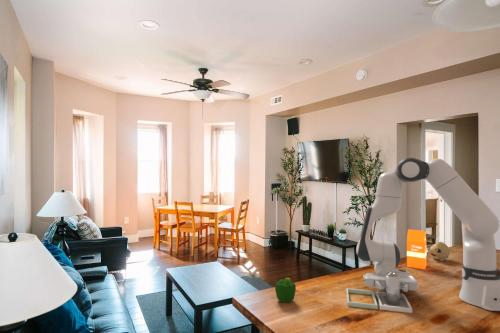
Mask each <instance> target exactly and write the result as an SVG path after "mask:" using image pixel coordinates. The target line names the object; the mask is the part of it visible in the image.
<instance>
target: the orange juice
mask: <svg viewBox="0 0 500 333" xmlns="http://www.w3.org/2000/svg"><path fill="white" fill-rule="evenodd" d="M427 252H428V251H427V236H426V231H425V230H419V229H418V230H417V229H409V228H408V229H407V235H406V267H407V268H408V267H409V268H415V269H420V270H426V267H427Z"/></svg>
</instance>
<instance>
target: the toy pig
mask: <svg viewBox="0 0 500 333" xmlns="http://www.w3.org/2000/svg"><path fill="white" fill-rule="evenodd" d="M426 250H427V252H428V253H429V254H430V256H431V257H432V259H433V260H434V259H435V260H439V261H441V262H443V261H444V260H446V259H448V258H449V256H450V252H451V250H450V248H449V246H448V245H447V244H446V243H445V242H443V241H438V242H436V243H434V244H433V245H431V246H427V247H426Z"/></svg>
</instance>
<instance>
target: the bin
mask: <svg viewBox="0 0 500 333" xmlns="http://www.w3.org/2000/svg"><path fill="white" fill-rule="evenodd" d="M349 293H350V294H358V295H359V294H360V295H369V296H372V299H373V303H364V302H357V301H350V296H349ZM346 302H347V307H353V308H354V307H355V308H361V309H372V310H378V308H379V306H378V305H379V304H378V300H377V297H376V293H375V292H374V290H370V289H369V290H368V289H356V288H347V287H346Z"/></svg>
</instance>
